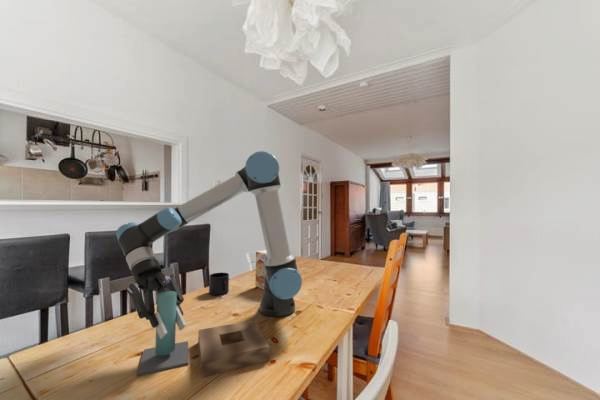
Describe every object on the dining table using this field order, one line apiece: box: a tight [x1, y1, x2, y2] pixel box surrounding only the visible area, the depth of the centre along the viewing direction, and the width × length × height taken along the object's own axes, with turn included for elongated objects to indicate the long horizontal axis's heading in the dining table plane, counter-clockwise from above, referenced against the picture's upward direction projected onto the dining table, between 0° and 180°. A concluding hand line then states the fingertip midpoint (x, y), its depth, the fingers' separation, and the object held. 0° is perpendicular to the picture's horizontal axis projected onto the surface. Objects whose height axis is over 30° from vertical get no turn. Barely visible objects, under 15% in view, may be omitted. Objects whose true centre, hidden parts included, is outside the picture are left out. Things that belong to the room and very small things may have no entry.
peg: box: [155, 291, 177, 355], centre depth 72 cm, size 5×5×16 cm
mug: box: [208, 272, 230, 297], centre depth 126 cm, size 9×12×9 cm
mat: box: [136, 340, 189, 377], centre depth 72 cm, size 12×12×1 cm
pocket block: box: [197, 319, 271, 378], centre depth 76 cm, size 18×18×4 cm
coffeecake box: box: [255, 249, 267, 290], centre depth 135 cm, size 15×7×20 cm, turn 50°
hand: (173, 331), depth 70 cm, fingers closed on peg, 5 cm apart
